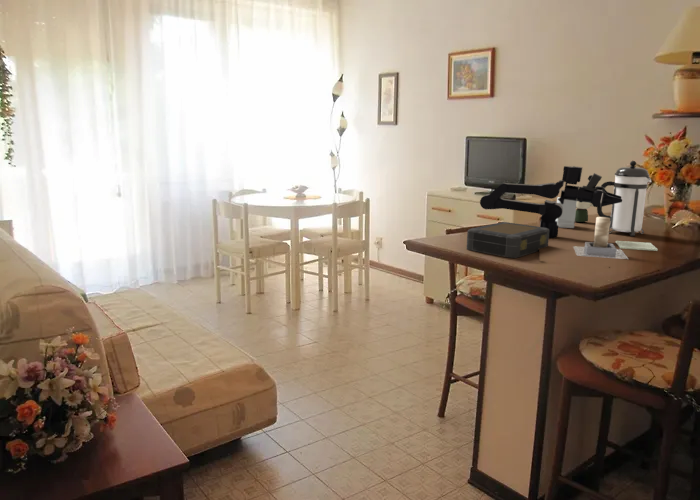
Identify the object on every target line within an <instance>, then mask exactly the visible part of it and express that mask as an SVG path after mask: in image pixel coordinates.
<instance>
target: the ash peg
mask: <svg viewBox="0 0 700 500" xmlns="http://www.w3.org/2000/svg"><path fill="white" fill-rule="evenodd" d="M609 227H610V218H607V217H600V216H597V217H595V227H594V237H593V242H594V244H593V247H607V244H608V243H609V242H608V241H609V232H610V230H609Z"/></svg>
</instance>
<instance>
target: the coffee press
mask: <svg viewBox="0 0 700 500" xmlns="http://www.w3.org/2000/svg"><path fill="white" fill-rule="evenodd" d="M629 164H630V166H624V167H623V166H622V167H619V168H618V169H617V170H616V171H615V172H614V176H615V177H614V181H605V182H603V183H602V184H601V185H600V186H602V191H603V187H604V188H605V189H606V188H607V187H609V186H613V194H615V195H618V196H621V199H622V202H620V203H616V204H611V213H610V215H606V214H604V213H603V207H601V203H600V207H596V213H597V216H598V217H607V218H610V226H609V234H612V233H613V232H622V233H628V235H629V236H630V237H632V238H633V237H634V238H635V236H636V233H639V234H640V235H643V234H644V233H645V231H644V229H643V220H644V213H645V205H646V197H647V189H648V186H649V184H648V183H652V179H651V177H650V173H649V171H648V170H647V169H646V168H644V167H637V166H636V165H637V162H636V161H635V160H632V161H630V163H629ZM610 230H611V231H610Z"/></svg>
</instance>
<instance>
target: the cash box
mask: <svg viewBox="0 0 700 500" xmlns="http://www.w3.org/2000/svg"><path fill="white" fill-rule="evenodd" d="M466 234H467V236H466V250H468V251H471V252H478V253H482V254H487V255H493V256H499V257H503V258H508V259H517V258H520V257H524V256H527V255H531V254H535V253H538V252H540V250H541V249H544V248H548V246H549V239H550V238H549V229H548V228H543V227H540V226H536V225H535V226H534V225H528V224H522V223H515V222H509V221H508V222H507V221H502V222H498V223H497V222H496V223H492V224H486V225H482V226H481V225H480V226H477V227H472V228H469V229H467V232H466Z"/></svg>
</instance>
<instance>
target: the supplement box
mask: <svg viewBox="0 0 700 500" xmlns="http://www.w3.org/2000/svg"><path fill="white" fill-rule="evenodd" d="M558 198H560V197H559V196H557V197H556V203H559V204H561V202H560V201H559V200H558ZM576 203H577V201H572V200H564V204H561V205H562V207H563V212H562V215H561V216H560V217H559V218H557V219H556V220H555V221H557V225H558V228H564V229H567V228H568V229H574V228H575V223H576V221H575V214H576V209H577V208H576Z"/></svg>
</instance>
